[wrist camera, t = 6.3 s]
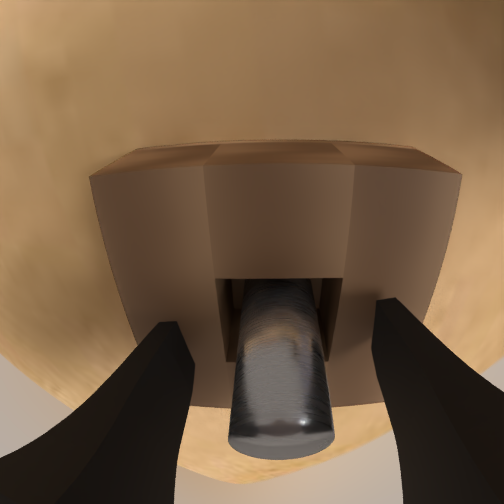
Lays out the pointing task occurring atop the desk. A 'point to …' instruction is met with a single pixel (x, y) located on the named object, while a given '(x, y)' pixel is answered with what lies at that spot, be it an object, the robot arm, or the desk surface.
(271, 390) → the pin
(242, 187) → the bore block
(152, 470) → the robot arm
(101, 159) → the desk surface
